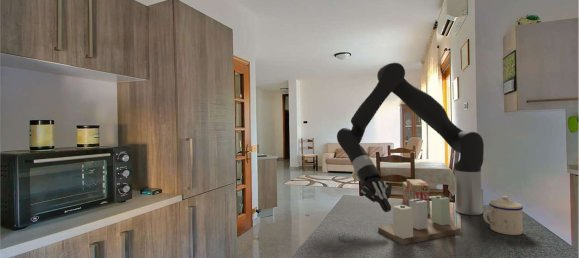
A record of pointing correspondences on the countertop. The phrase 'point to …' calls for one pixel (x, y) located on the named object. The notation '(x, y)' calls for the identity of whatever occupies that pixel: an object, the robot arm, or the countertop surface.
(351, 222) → the countertop surface
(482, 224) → the countertop surface
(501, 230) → the teacup with lid
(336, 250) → the countertop surface
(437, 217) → the two dot key
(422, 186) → the stack of blocks
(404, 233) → the one dot key
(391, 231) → the brown wooden board
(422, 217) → the three dot key
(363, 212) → the countertop surface
